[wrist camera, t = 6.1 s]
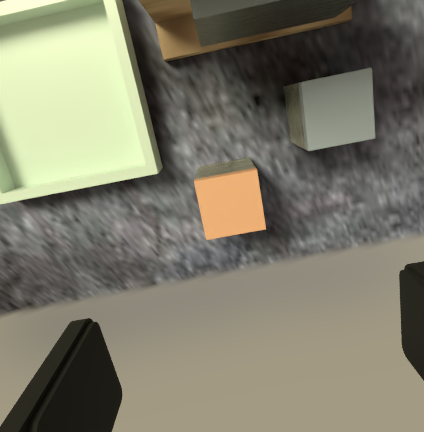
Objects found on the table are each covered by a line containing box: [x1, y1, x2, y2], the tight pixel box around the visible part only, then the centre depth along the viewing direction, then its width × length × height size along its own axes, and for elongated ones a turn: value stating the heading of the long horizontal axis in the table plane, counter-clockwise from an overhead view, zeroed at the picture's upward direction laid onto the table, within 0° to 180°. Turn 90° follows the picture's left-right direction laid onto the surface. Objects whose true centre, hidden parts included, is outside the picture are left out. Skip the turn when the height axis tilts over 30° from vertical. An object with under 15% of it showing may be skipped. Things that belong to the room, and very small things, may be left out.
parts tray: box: [0, 0, 163, 204], centre depth 27 cm, size 14×14×2 cm
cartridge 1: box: [194, 157, 266, 240], centre depth 27 cm, size 4×4×6 cm
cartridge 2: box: [284, 68, 375, 151], centre depth 25 cm, size 4×4×6 cm
